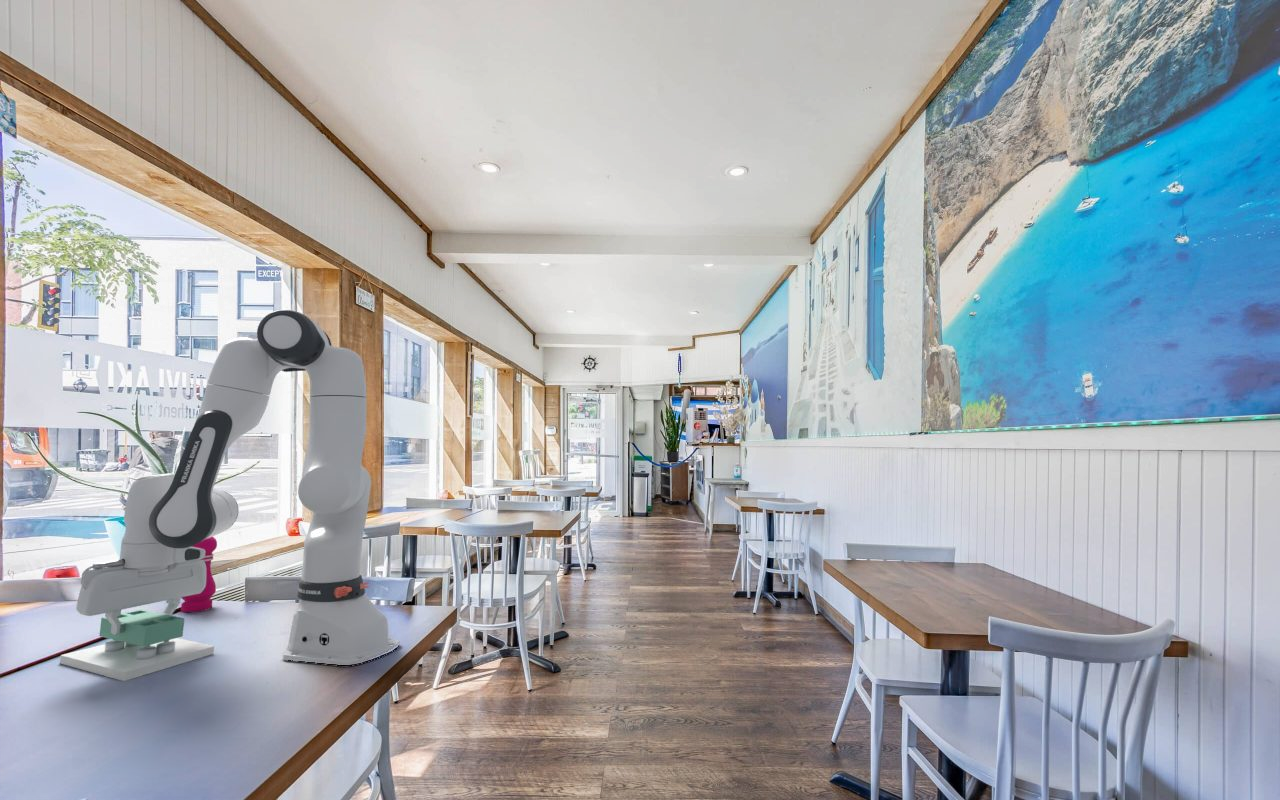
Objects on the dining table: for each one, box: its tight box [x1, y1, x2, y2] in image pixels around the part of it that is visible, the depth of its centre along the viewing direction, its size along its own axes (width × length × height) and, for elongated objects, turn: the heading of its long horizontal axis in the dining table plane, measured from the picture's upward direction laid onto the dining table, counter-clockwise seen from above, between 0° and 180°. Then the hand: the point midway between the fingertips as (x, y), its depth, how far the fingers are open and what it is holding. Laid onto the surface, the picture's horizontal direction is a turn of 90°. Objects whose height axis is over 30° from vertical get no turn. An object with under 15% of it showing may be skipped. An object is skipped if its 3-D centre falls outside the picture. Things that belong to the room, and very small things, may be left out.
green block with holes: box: [99, 608, 185, 647], centre depth 111 cm, size 14×6×4 cm, turn 69°
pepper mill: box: [180, 536, 218, 613], centre depth 145 cm, size 7×7×20 cm
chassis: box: [59, 637, 215, 682], centre depth 111 cm, size 20×15×7 cm
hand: (142, 627), depth 111 cm, fingers closed on green block with holes, 6 cm apart
